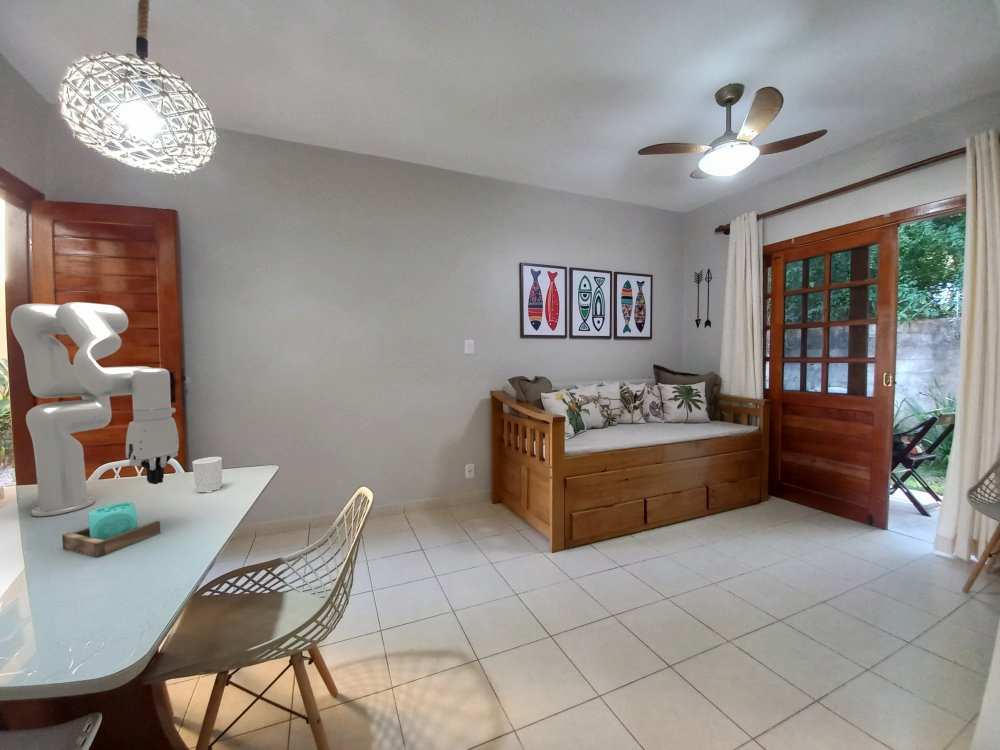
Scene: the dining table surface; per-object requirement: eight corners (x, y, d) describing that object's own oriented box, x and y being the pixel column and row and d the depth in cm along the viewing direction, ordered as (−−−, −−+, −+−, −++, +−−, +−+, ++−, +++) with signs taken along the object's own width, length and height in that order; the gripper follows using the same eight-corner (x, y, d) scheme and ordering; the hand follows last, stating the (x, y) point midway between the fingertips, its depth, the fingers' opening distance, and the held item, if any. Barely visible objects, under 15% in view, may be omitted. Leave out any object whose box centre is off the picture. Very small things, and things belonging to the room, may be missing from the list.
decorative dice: (90, 541, 95) (87, 509, 95) (135, 529, 101) (132, 499, 101) (91, 552, 90) (88, 518, 89) (138, 539, 96) (136, 507, 95)
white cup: (207, 494, 126) (206, 463, 125) (187, 493, 128) (185, 462, 127) (229, 486, 134) (227, 457, 133) (210, 484, 135) (208, 456, 135)
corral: (63, 548, 92) (61, 534, 92) (126, 526, 103) (125, 514, 103) (98, 557, 88) (97, 542, 87) (160, 532, 99) (159, 520, 99)
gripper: (174, 409, 111) (176, 472, 113) (107, 418, 97) (111, 490, 99) (192, 411, 109) (194, 476, 110) (127, 421, 95) (130, 494, 96)
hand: (155, 482), depth 105 cm, fingers closed
